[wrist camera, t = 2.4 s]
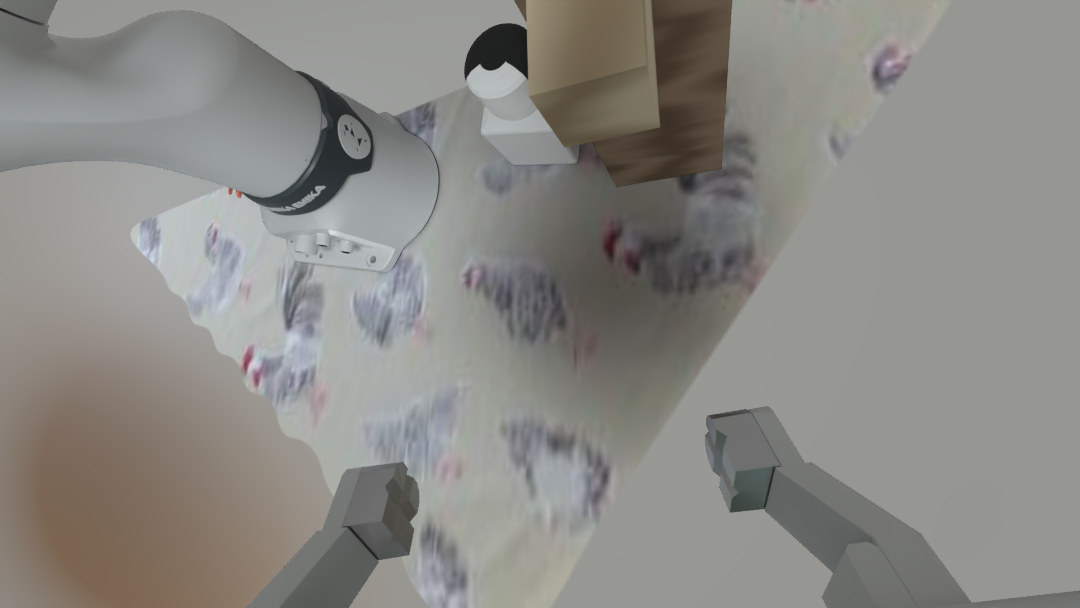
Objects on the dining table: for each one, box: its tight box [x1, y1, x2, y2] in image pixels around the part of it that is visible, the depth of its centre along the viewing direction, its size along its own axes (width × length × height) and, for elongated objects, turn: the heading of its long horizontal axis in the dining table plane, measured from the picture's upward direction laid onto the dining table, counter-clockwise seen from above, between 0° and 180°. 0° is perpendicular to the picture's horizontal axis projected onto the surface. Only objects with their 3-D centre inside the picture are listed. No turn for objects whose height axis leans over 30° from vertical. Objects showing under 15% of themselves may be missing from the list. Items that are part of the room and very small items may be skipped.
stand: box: [514, 0, 732, 187], centre depth 27 cm, size 9×12×26 cm
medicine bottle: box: [464, 23, 580, 165], centre depth 38 cm, size 7×7×12 cm
